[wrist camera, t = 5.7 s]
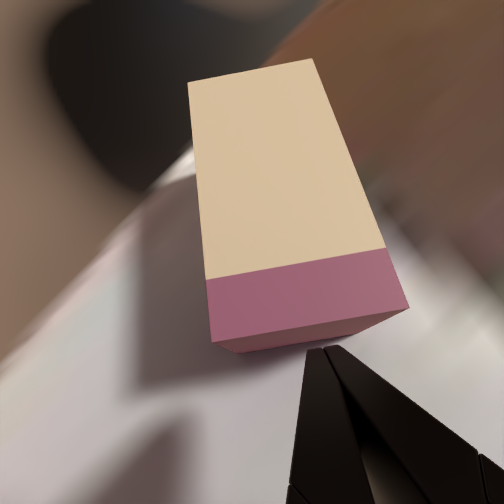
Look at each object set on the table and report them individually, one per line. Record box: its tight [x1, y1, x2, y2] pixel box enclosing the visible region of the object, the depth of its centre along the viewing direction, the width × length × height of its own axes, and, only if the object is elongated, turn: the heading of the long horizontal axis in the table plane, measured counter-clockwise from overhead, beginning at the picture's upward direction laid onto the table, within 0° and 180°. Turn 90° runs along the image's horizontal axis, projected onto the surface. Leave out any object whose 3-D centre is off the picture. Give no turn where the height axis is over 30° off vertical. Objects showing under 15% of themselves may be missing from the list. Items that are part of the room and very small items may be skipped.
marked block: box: [188, 59, 410, 354], centre depth 13 cm, size 6×6×12 cm
